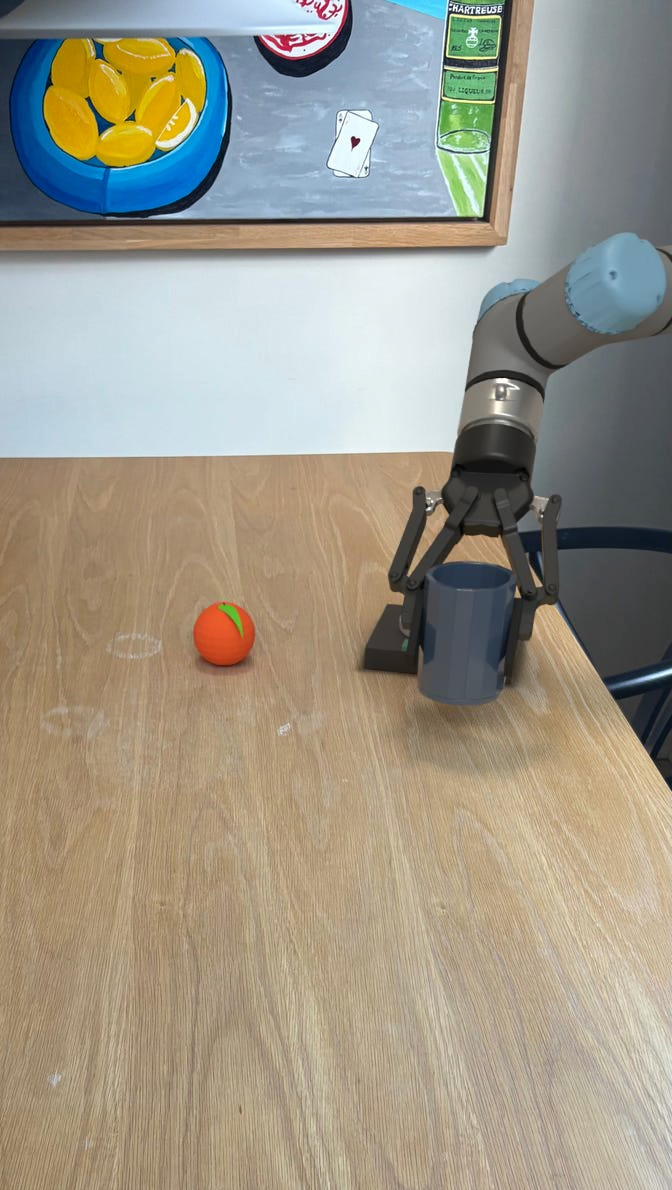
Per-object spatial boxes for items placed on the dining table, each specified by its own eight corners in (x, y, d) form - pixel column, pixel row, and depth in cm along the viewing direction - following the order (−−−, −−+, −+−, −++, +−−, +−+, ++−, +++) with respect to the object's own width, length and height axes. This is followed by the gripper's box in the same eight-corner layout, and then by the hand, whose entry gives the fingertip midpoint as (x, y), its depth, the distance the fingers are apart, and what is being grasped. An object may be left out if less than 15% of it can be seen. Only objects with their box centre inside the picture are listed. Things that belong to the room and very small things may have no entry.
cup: (507, 676, 118) (520, 564, 112) (498, 710, 111) (512, 593, 105) (423, 667, 120) (432, 558, 114) (410, 700, 113) (419, 586, 108)
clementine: (270, 671, 136) (271, 610, 132) (215, 683, 133) (214, 621, 129) (237, 646, 142) (237, 587, 138) (183, 658, 139) (181, 598, 136)
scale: (522, 636, 143) (525, 607, 141) (510, 683, 132) (514, 653, 130) (385, 623, 147) (387, 595, 145) (363, 668, 136) (365, 638, 134)
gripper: (382, 414, 115) (340, 638, 110) (615, 424, 109) (581, 661, 105) (389, 458, 122) (349, 670, 117) (608, 469, 116) (575, 693, 112)
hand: (458, 665), depth 111 cm, fingers closed on cup, 8 cm apart
